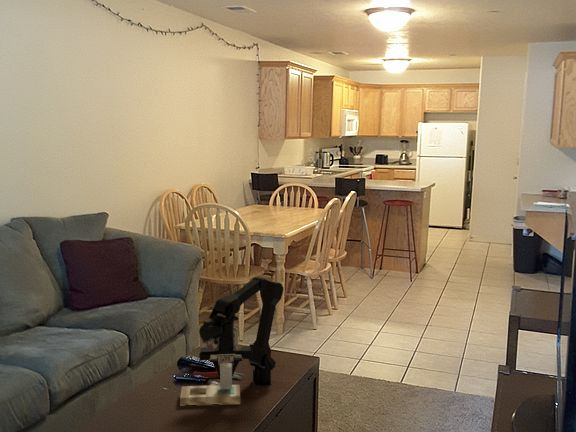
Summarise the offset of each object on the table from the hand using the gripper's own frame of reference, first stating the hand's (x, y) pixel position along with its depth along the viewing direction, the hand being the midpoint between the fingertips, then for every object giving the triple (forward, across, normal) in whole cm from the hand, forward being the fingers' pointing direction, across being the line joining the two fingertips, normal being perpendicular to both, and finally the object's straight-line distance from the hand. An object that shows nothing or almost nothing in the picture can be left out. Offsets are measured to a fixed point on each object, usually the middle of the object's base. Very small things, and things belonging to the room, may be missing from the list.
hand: (226, 376), depth 221 cm
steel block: (+4, 0, 0) cm, 4 cm away
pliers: (+9, +4, -21) cm, 24 cm away
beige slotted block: (+8, +5, 0) cm, 10 cm away
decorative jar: (+9, +3, -38) cm, 39 cm away
